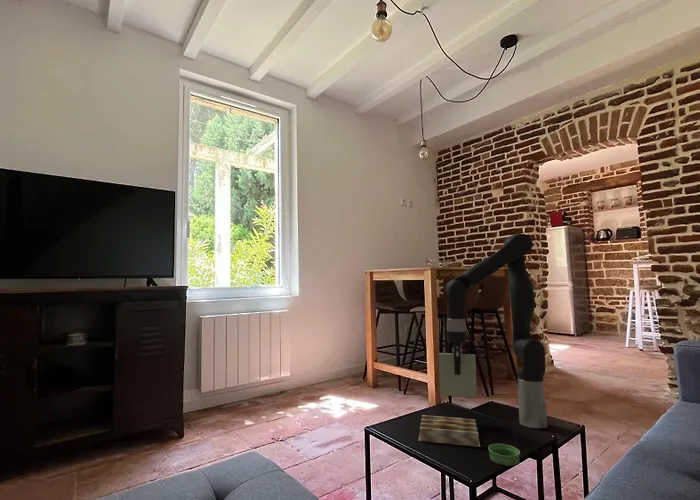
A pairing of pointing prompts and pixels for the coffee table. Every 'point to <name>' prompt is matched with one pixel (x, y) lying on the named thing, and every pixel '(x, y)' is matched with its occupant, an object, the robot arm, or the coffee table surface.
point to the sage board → (457, 383)
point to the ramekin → (506, 450)
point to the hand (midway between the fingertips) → (457, 373)
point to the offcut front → (445, 426)
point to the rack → (449, 432)
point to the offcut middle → (451, 422)
